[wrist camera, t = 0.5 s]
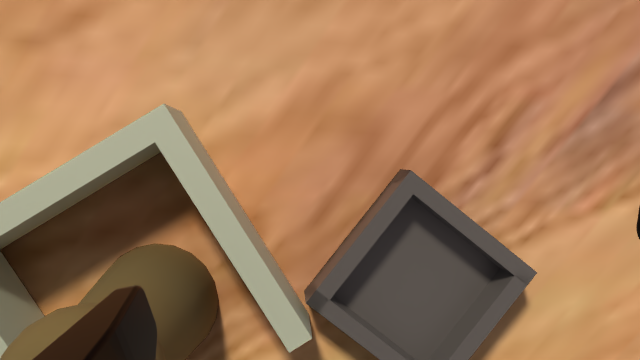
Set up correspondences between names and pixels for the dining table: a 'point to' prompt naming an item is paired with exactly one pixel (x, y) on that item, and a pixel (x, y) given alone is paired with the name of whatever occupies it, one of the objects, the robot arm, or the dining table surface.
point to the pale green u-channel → (201, 185)
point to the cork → (163, 296)
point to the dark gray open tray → (418, 277)
